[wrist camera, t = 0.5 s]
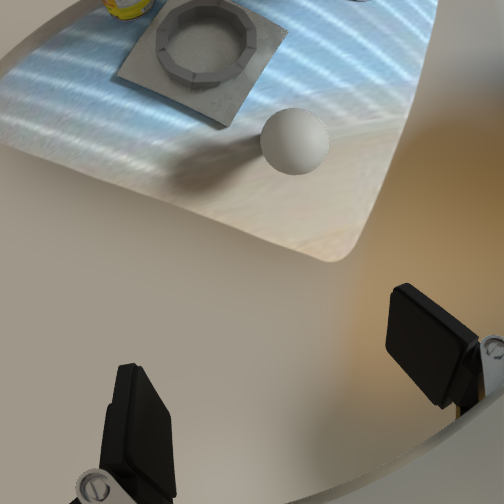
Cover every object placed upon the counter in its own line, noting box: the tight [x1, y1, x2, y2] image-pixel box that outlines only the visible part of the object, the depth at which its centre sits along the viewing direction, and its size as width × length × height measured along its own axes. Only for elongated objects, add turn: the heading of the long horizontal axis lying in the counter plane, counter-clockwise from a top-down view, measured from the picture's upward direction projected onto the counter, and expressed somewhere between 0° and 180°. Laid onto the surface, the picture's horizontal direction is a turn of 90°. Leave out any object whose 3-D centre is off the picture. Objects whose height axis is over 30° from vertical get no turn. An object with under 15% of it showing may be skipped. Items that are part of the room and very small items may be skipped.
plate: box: [117, 0, 289, 127], centre depth 26 cm, size 14×14×1 cm
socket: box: [155, 0, 257, 88], centre depth 24 cm, size 10×10×3 cm
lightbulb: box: [260, 108, 329, 175], centre depth 27 cm, size 6×6×11 cm
